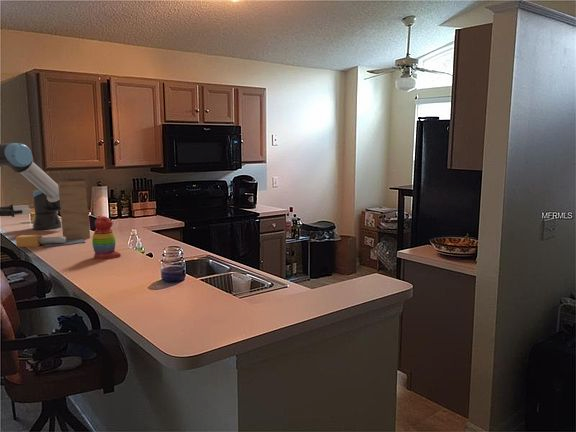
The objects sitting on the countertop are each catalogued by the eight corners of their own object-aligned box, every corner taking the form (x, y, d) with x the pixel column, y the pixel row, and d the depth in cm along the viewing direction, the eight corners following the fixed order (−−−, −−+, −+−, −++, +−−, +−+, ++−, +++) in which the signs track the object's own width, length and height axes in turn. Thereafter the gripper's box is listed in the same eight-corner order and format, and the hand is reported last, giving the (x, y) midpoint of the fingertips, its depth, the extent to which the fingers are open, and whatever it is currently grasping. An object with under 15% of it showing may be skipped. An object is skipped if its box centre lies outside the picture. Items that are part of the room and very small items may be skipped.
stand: (63, 238, 248) (57, 178, 243) (87, 235, 254) (82, 177, 250) (65, 241, 241) (59, 179, 237) (90, 238, 248) (85, 178, 243)
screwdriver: (62, 236, 230) (63, 245, 231) (66, 234, 235) (67, 243, 236) (15, 237, 229) (16, 246, 230) (20, 235, 234) (21, 244, 235)
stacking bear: (122, 256, 206) (119, 216, 203) (98, 260, 199) (95, 219, 196) (112, 252, 214) (109, 213, 211) (89, 256, 207) (86, 216, 204)
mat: (43, 243, 235) (43, 242, 235) (82, 239, 245) (82, 238, 245) (45, 247, 227) (44, 246, 227) (85, 242, 236) (85, 241, 236)
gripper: (-22, 218, 226) (28, 213, 237) (-24, 225, 205) (31, 220, 216) (-24, 202, 225) (27, 199, 236) (-26, 208, 204) (30, 204, 215)
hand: (29, 209), depth 226 cm, fingers open, 13 cm apart
